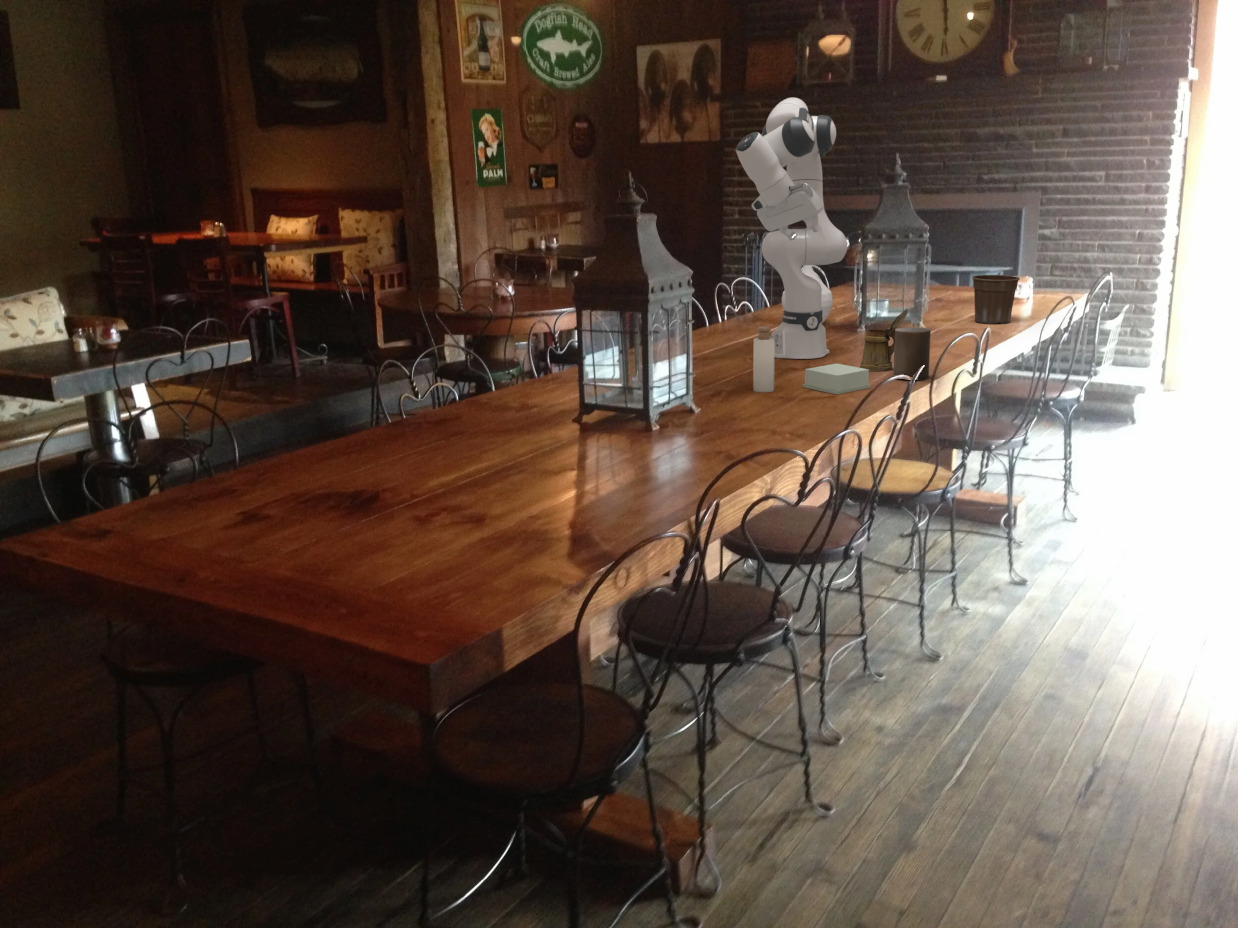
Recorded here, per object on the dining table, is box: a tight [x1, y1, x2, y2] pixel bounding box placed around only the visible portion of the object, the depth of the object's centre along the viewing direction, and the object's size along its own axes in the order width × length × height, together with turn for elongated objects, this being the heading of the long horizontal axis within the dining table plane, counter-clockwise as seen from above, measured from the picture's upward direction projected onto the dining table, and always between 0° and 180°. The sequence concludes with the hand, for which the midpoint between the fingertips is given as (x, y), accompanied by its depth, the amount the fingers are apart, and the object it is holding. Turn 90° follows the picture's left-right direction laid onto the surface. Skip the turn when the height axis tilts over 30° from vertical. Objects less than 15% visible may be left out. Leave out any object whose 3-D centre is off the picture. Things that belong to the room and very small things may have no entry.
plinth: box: [802, 362, 871, 395], centre depth 305 cm, size 13×13×5 cm
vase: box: [781, 265, 833, 324], centre depth 406 cm, size 18×18×30 cm
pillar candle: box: [893, 324, 931, 381], centre depth 314 cm, size 10×10×15 cm
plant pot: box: [971, 274, 1021, 325], centre depth 403 cm, size 16×16×16 cm
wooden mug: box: [859, 308, 909, 372], centre depth 326 cm, size 9×14×18 cm, turn 54°
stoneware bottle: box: [752, 326, 775, 393], centre depth 303 cm, size 6×6×17 cm
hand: (805, 235), depth 299 cm, fingers open, 8 cm apart
